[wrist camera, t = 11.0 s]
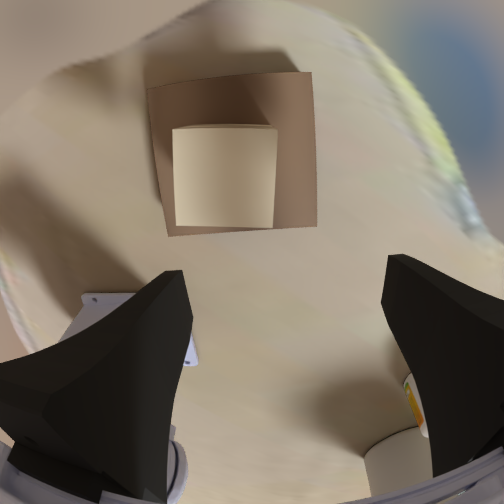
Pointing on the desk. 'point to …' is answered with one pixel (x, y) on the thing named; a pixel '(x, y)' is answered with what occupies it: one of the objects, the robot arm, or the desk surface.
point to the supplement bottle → (415, 403)
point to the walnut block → (243, 112)
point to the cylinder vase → (399, 462)
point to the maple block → (224, 175)
